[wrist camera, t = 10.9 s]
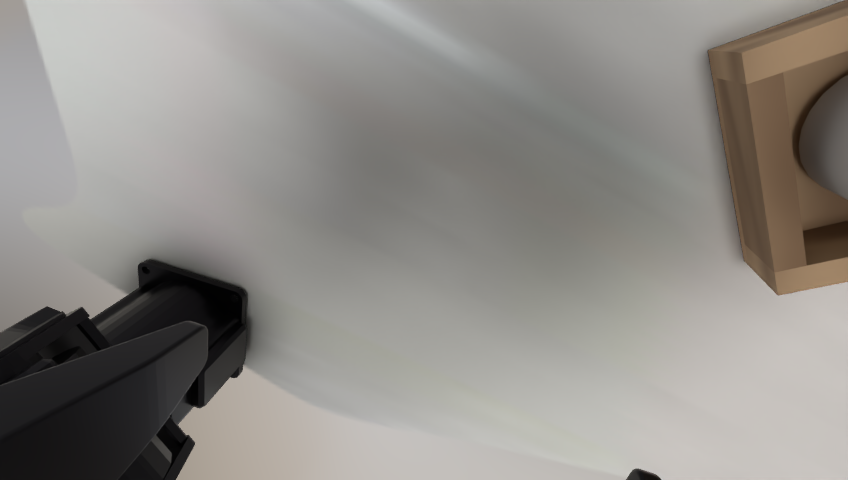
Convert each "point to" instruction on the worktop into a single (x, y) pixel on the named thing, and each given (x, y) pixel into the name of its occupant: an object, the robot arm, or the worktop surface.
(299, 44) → the worktop surface
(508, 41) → the worktop surface
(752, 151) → the walnut socket
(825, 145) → the beverage can
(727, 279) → the worktop surface
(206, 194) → the worktop surface
